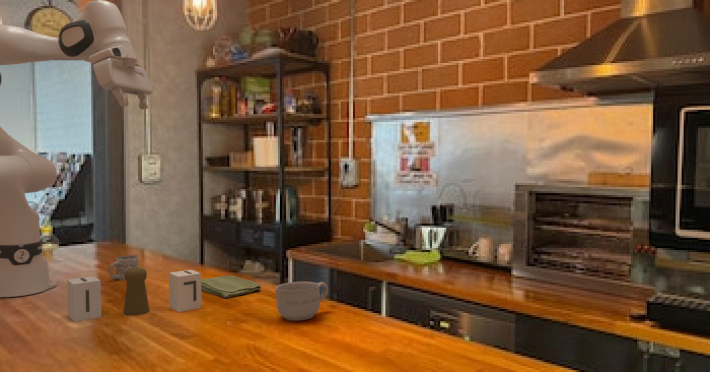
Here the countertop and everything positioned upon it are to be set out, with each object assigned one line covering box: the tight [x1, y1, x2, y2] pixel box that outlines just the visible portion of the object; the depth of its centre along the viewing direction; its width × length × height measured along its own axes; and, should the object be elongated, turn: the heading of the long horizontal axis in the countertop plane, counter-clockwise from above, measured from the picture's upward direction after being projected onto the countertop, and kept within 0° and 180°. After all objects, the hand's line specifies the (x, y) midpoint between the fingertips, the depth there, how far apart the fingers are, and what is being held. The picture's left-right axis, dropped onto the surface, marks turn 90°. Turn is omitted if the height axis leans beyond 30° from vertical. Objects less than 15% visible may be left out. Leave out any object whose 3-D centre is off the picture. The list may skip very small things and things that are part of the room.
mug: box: [108, 254, 139, 281], centre depth 172 cm, size 10×7×7 cm, turn 154°
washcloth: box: [201, 274, 262, 299], centre depth 159 cm, size 13×18×3 cm
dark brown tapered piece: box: [123, 267, 150, 316], centre depth 136 cm, size 6×6×11 cm
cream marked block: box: [168, 269, 202, 313], centre depth 140 cm, size 6×6×9 cm
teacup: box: [274, 281, 329, 322], centre depth 132 cm, size 14×11×8 cm
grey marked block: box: [66, 275, 102, 323], centre depth 132 cm, size 6×6×9 cm
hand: (134, 107), depth 147 cm, fingers open, 8 cm apart
